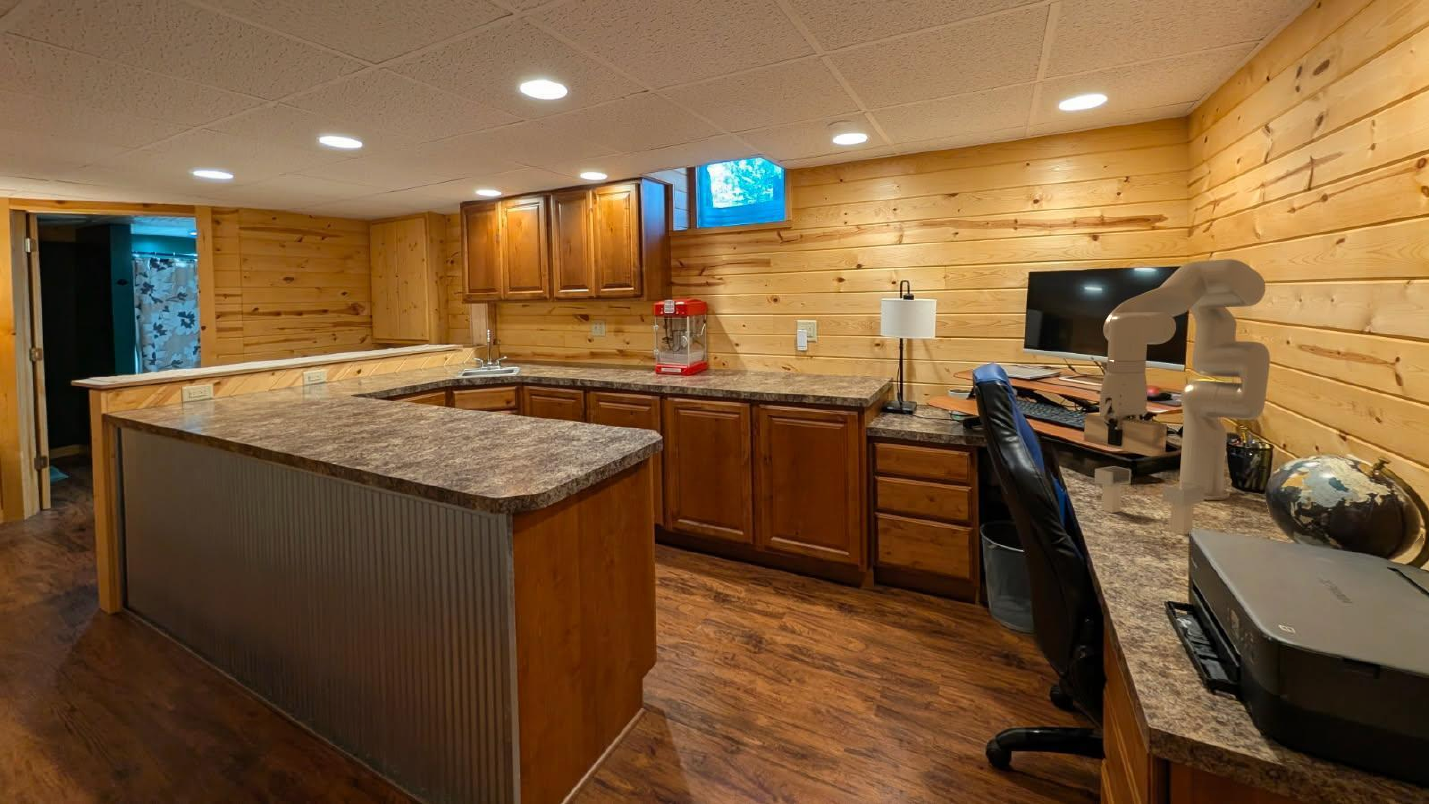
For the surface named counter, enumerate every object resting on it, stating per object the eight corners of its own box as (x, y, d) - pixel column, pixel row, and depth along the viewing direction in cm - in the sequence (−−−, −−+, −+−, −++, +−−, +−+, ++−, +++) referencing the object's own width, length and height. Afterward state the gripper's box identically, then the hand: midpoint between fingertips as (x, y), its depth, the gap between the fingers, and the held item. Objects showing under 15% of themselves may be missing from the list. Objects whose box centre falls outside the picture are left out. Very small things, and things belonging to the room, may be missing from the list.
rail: (1096, 439, 156) (1098, 412, 155) (1165, 454, 139) (1166, 424, 138) (1083, 441, 155) (1085, 413, 154) (1151, 456, 138) (1152, 425, 136)
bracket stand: (1112, 506, 164) (1114, 465, 162) (1201, 532, 143) (1204, 486, 141) (1093, 509, 162) (1095, 468, 160) (1180, 537, 141) (1184, 490, 139)
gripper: (1136, 364, 150) (1132, 437, 153) (1084, 369, 145) (1081, 445, 147) (1167, 366, 143) (1163, 443, 146) (1114, 371, 138) (1110, 451, 140)
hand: (1122, 443), depth 147 cm, fingers closed on rail, 4 cm apart
